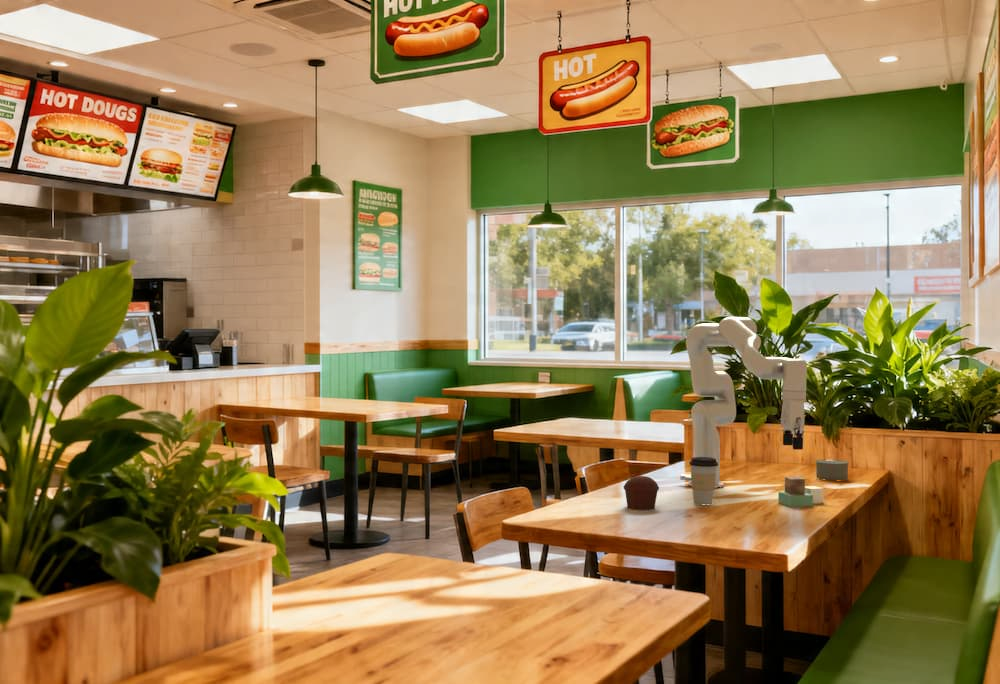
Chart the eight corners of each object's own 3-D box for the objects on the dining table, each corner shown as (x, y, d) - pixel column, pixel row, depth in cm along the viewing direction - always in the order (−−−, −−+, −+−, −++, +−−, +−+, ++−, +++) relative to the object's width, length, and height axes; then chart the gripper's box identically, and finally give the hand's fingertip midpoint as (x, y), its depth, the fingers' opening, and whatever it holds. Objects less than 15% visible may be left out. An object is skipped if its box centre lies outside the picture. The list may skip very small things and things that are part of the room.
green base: (790, 508, 307) (790, 495, 307) (778, 503, 314) (778, 491, 314) (812, 507, 308) (813, 495, 308) (800, 502, 316) (800, 491, 316)
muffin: (638, 512, 296) (638, 480, 296) (615, 506, 305) (616, 475, 305) (666, 508, 302) (666, 477, 302) (643, 503, 312) (644, 473, 311)
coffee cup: (686, 505, 308) (687, 459, 308) (691, 500, 317) (691, 456, 317) (715, 507, 305) (716, 461, 305) (719, 502, 314) (720, 457, 314)
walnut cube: (789, 494, 310) (789, 479, 310) (784, 491, 315) (784, 476, 315) (804, 494, 310) (804, 479, 310) (799, 491, 315) (799, 476, 315)
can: (819, 481, 362) (819, 463, 362) (812, 476, 374) (813, 459, 374) (851, 481, 360) (851, 463, 360) (844, 477, 372) (844, 459, 372)
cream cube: (810, 503, 313) (810, 488, 313) (801, 501, 318) (801, 486, 318) (823, 503, 315) (823, 488, 315) (814, 500, 320) (814, 485, 319)
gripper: (774, 393, 320) (773, 443, 321) (791, 398, 303) (790, 450, 304) (796, 393, 320) (794, 443, 321) (814, 398, 303) (813, 451, 304)
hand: (792, 447), depth 312 cm, fingers open, 9 cm apart
